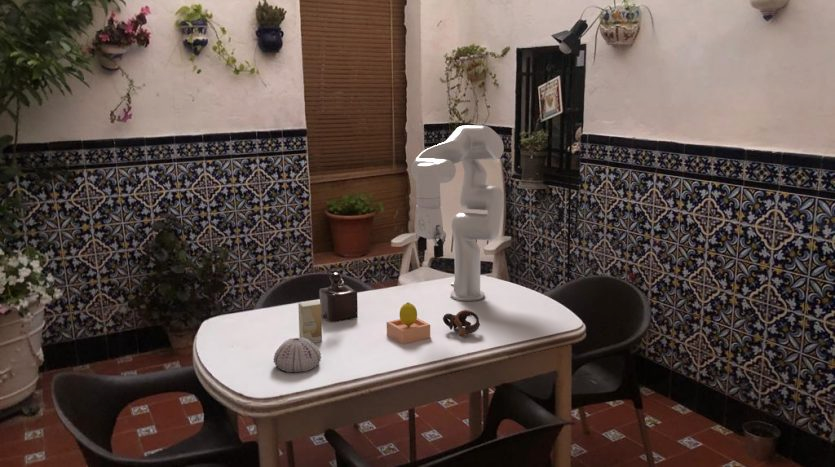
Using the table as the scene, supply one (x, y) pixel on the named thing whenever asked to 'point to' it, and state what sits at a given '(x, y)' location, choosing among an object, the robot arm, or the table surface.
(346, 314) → the dark square decanter
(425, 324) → the orange square tray
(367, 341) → the table surface
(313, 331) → the skincare box
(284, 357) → the sea urchin shell
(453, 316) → the pottery mug
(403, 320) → the lemon
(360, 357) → the table surface
